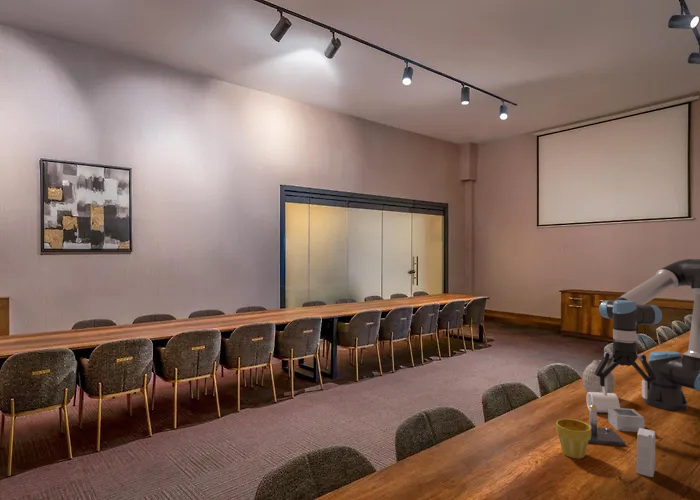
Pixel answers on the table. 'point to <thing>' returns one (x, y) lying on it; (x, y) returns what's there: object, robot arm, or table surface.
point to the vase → (596, 379)
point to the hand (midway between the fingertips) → (624, 396)
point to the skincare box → (646, 452)
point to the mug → (602, 401)
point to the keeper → (602, 431)
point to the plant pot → (573, 437)
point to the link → (625, 419)
